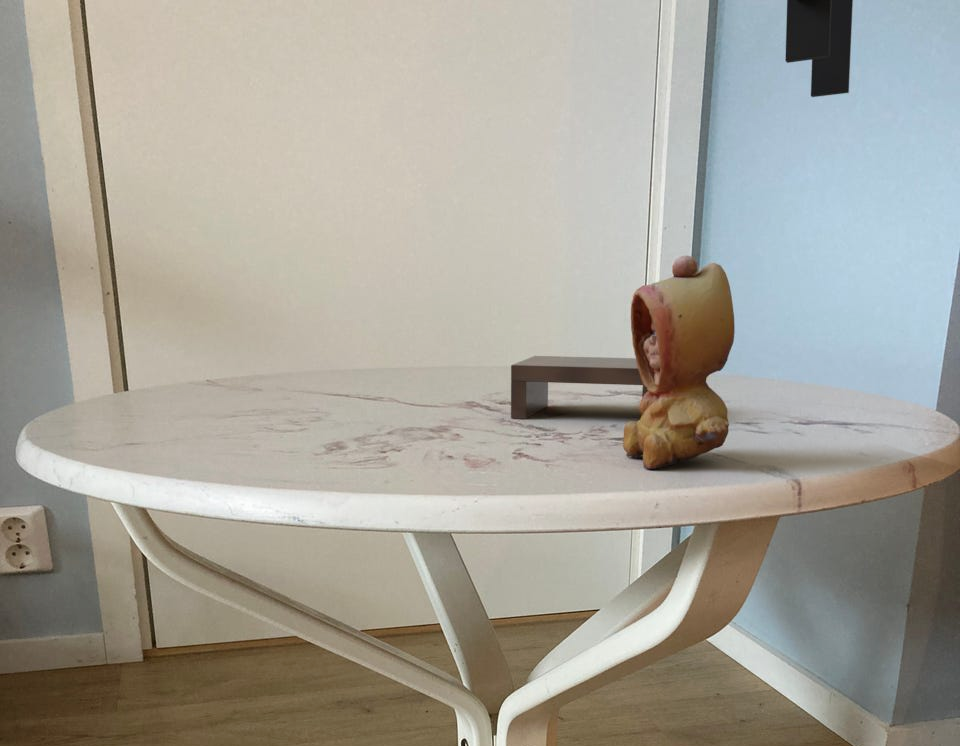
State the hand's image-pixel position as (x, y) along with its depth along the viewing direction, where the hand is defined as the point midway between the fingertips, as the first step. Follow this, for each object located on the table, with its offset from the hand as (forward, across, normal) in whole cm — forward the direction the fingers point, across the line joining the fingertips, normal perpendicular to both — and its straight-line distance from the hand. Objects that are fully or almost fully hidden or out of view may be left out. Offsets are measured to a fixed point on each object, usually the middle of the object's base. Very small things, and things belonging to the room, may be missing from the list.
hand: (819, 78), depth 78 cm
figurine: (+27, +4, -9) cm, 29 cm away
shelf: (+24, -16, -22) cm, 37 cm away
